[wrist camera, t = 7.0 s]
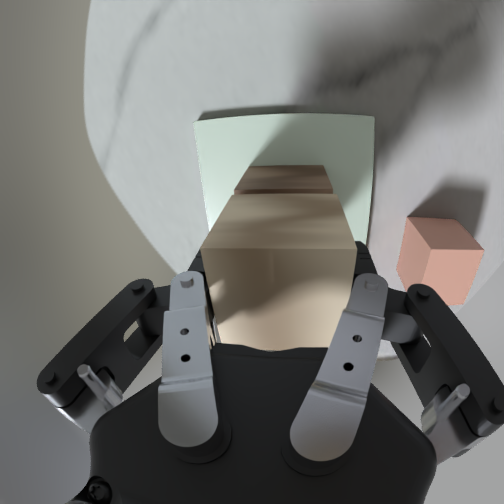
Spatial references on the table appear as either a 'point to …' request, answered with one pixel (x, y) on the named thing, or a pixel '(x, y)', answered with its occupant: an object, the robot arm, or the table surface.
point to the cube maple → (279, 269)
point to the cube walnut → (284, 180)
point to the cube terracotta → (439, 257)
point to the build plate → (289, 156)
